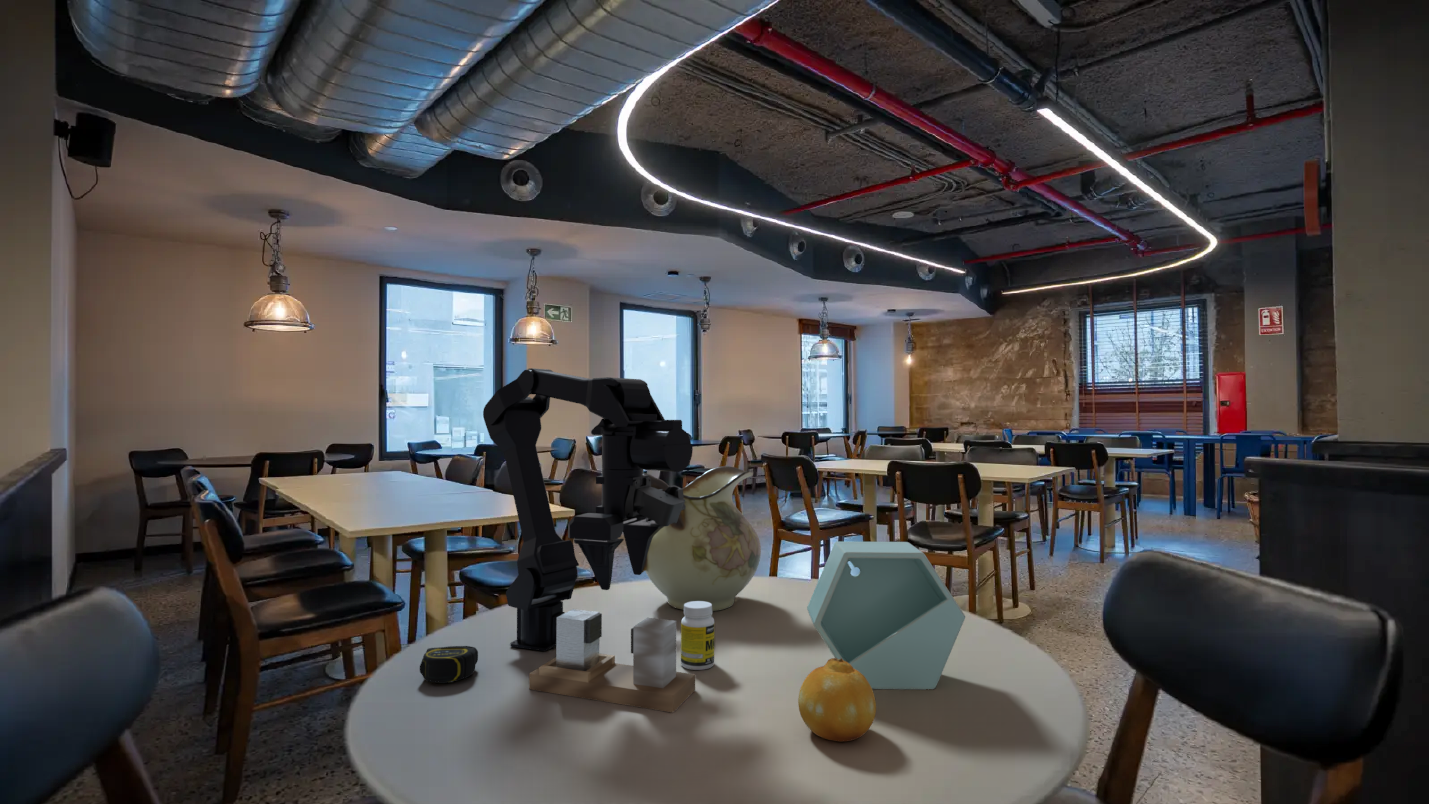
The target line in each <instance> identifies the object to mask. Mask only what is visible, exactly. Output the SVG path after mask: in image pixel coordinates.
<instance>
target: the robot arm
mask: <svg viewBox="0 0 1429 804" xmlns="http://www.w3.org/2000/svg"><path fill="white" fill-rule="evenodd" d="M530 395H534V396H533V397H531V396H530ZM551 399H555V400H561V401H566V402H570V403H575V404H579V405H582V406H584V407H586V408H587V410H588V411H589V412H591V413H592V414H594V415H596V416H598V417H600V418H601V420H600V421H599V423H597V424H596V425H595V426H594V427H593V428H592V429H591V430H590V434H591V435H592V436H601V475H598V476H597V475H596V476H595V485H601V505H598V506H597V505H596V506H595V512H587V513H582V514H577V515H575V516H573V517H572V518H571V519H570V521H569V522H568V524H567V526H568V528H567V529H568V530H567V535H568V536H567V537H568V539H567V540H564V539H562V538H561V536H559V534H558V533H557V532H556V531H557V530H556V527H555V524H554V518H553V515H552V511H551V506H550V501H549V497H548V493H547V489H546V484H545V481H544V480H545V479H544V476H543V471H542V468H541V464H540V458H539V454H538V449H537V443H538V440H539V437H540V435H541V431H542V420H541V419H542V418H543V416H544V415H545V414H546V413H547V412H548V411H549V410H550V404H551V403H550V402H551ZM482 416H483V420H484V421H483V422H484V424H485V427H486V429H487V433H488V436H489V438H490V439H491V441H492V442H493V443H494V444H495V445H496V446H497V447H498V448H499V449H500V451H501V452H502V454H503V455H504V459H505V464H506V469H507V473H508V477H509V482H510V487H511V490H512V495H513V499H514V500H513V501H514V504H515V509H516V512H517V513H516V515H517V518H518V522H519V526H520V527H519V528H520V532H521V537H522V546H521V549H520V551H519V555H518V557H517V561H516V563H517V574H518V575H517V576H516V577H515V579H514V581H512V583H511V584H510V585H509V587H508V588H507V590H506V591H505V596H506V600H507V601H506V602H507V606H509V607H511V608H514V609H516V639H515V640H513V641H511V642H510V644H509V646H510V647H513V648H520V649H527V650H535V651H540V652H547V651H549V650H550V649H552V648H555V647H556V634H557V617H558V616H560V615H562V614H564V613H566V612H565V611H564V601H567V600H571V599H572V595H573V592H574V588H575V584H576V580H578V575H579V574H578V573H579V572H578V567H579V566H580V564H579V561H578V559H577V558H576V554H575V546H574V545H575V544H576V545H578V546H579V548H580V550H581V552H582V553H583V556H584V557H585V559H586V561H587V562H588V564H589V567H590V568H591V570H592V573H593V575H594V577H595V579H596V580H597V581H596V582H597V583H598V585H599V588H600V589H601V590H602V591H603V590H604V591H609V590H610V589H611V585H612V584H611V583H612V577H613V567H614V559H615V558H614V557H615V551H616V550H617V549H618V547H619V546H620V545H621V544H622V543H623V541H624V540H625V546H626V550H627V553H628V558H629V562H630V566H631V570H632V573H633V574H634V575H636V576H641V575H642V574H643V573H642V571H643V567H644V564H645V561H646V557H647V554H648V550H649V547H650V544H651V541H652V538H653V536H654V535H655V534H656V533H657V532H658V531H659V530H660V529H662V528H663V527H664V526H669V525H670V524H671V523H677V521H678V518H679V515H680V512H681V511H682V510H685V508H686V506H685V504H684V503H685V499H684V495H683V488H681V487H680V486H677V485H675V484H674V485H669V487H668V488H667V489H666V490H665V491H663V489H656V488H653V487H651V478H649V475H643V474H644V473H645V472H644V470H645V471H654V472H656V471H657V472H659V471H660V472H672V473H680V472H683V471H684V470H686V469H687V467H689V465H690V463H691V460H692V457H693V444H692V442H691V441H692V440H691V438H690V437H689V433H687V431H686V430H684V429H683V421H682V419H665V417H664V416H663V414H662V412H661V410H660V409H659V407H658V404H657V403H656V402H655V399H654V398H653V396H652V395H651V391H650V388H649V387H648V383H647V382H646V381H645V380H643V379H640V378H638V379H637V378H625V377H623V378H621V377H610V376H609V377H595V378H593V377H592V378H589V377H582V376H577V375H573V374H567V373H561V372H556V371H553V370H551V369H545V368H527V369H524V370H523V371H522V372H521V373H520V374H519V376H517V377H516V379H514V380H512V381H511V382H508V384H505V385H504V386H502V387H501V388H499V389H498V390H496V392H495V393H493V395H492V396H491V398H490V399H489V400H488V402H487V403H486V404H485V405H484V406H483V411H482ZM622 534H623V538H621V537H622ZM571 539H573V542H572V540H571Z"/></svg>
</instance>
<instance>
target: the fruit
mask: <svg viewBox="0 0 1429 804" xmlns="http://www.w3.org/2000/svg"><path fill="white" fill-rule="evenodd" d="M875 698H876V697H875V694H874V689H872V688H871V686H870V684H869V682H868V681H867V679H866V678H865V677H864V675H862V674H861V673H860V672H859V671H858V670H856V669H854V668H853V667H852V666H851V664H849V663H848V662H846V661H844V660H843V659H842V658H841V659H837V658H835V657H834V658H830V659H828V660H827V662H826V663H825V664H824V665H823V666H818V667H816V668H814V669H813V670H812V671H811V672H809V673H808V675H807V676H806V677H805V679H804V680H803V682H802V684H801V687H800V689H799V693H798V699H797V700H798V701H797V702H798V705H797V706H798V710H799V713H800V717H801V718H802V721H803V723H804V724H805V726H806V727H807V728H808V729H809V730H810V731H811V732H812V733H813V734H815V735H816V736H817V737H821V738H822V739H825V740H829V741H832V742H833V741H834V742H851V741H854V740H857V739H859V738H861V737H862V736H864V735H865V734H866V733H867V732H868V731H869V730H870V728H871V727H872V725H873V723H874V720H875V718H876V713H877V705H876V703H877V702H876V699H875Z"/></svg>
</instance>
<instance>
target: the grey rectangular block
mask: <svg viewBox="0 0 1429 804" xmlns="http://www.w3.org/2000/svg"><path fill="white" fill-rule="evenodd" d="M602 615H603V614H602V613H601V612H600V611H595V610H593V611H592V610H584V609H577V608H576V609H574V608H573V609H570V610H568V611H566V612H565V613H564V614H562V615H560V616H558V617H557V634H556V646H555V648H556V652H555V655H556V667H559V668H566V669H572V670H579V671H587V670H589V669H590V668H592V667H593V666H595V665H596V664H598V663H599V653H600V638H601V637H603V635H602V631H603V627H602V626H603V625H602V624H603V623H602V621H603V619H602V618H603V616H602Z"/></svg>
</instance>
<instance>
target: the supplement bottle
mask: <svg viewBox="0 0 1429 804" xmlns="http://www.w3.org/2000/svg"><path fill="white" fill-rule="evenodd" d="M683 615H684V616H683V617H682V619H681V622H680V665H681V667H683V668H684V669H687V670H690V671H691V670H692V671H693V670H695V671H701V670H702V671H703V670H708V669H711V668H712V667H713V666H714V665H715V619H714V617H713V611H712V604H711V603H709V602H705V601H692V602H687V603H685V604H684V610H683Z"/></svg>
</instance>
